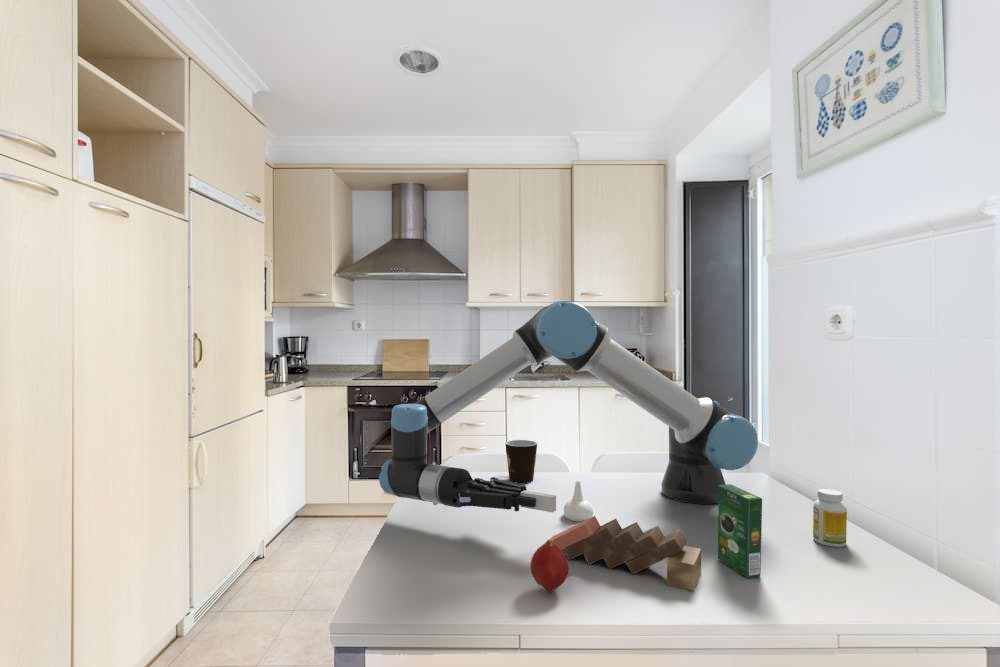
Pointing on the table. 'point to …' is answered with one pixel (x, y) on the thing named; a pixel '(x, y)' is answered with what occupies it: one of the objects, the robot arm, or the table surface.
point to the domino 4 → (636, 548)
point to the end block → (684, 568)
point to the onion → (549, 566)
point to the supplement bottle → (829, 518)
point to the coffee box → (739, 530)
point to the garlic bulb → (578, 506)
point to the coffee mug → (521, 460)
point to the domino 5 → (659, 552)
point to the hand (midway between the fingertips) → (554, 503)
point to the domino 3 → (615, 543)
